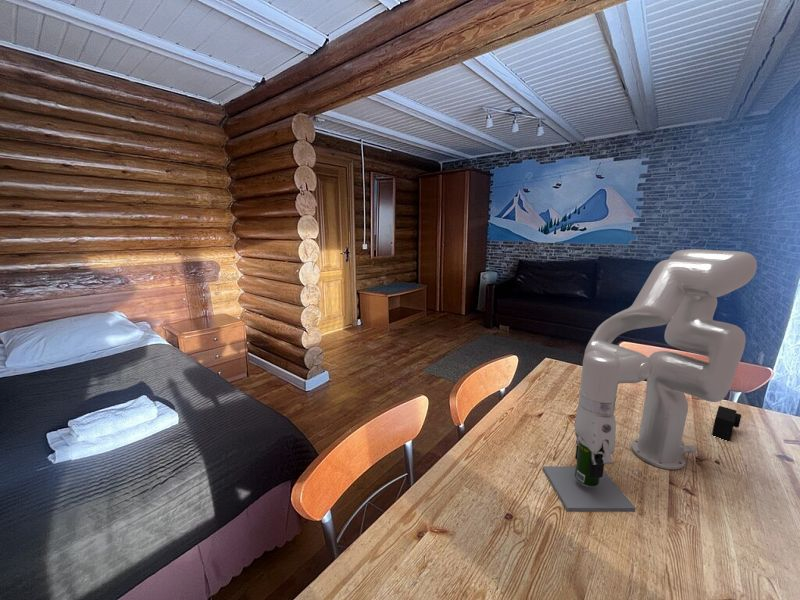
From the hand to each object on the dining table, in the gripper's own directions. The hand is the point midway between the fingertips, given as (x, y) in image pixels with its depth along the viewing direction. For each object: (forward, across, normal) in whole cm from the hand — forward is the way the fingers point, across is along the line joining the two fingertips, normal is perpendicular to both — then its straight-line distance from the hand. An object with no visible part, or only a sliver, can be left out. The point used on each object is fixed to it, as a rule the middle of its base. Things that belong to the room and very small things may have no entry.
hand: (588, 467), depth 84 cm
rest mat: (+6, 0, 0) cm, 6 cm away
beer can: (+4, 0, 0) cm, 4 cm away
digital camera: (+7, +24, -58) cm, 63 cm away
